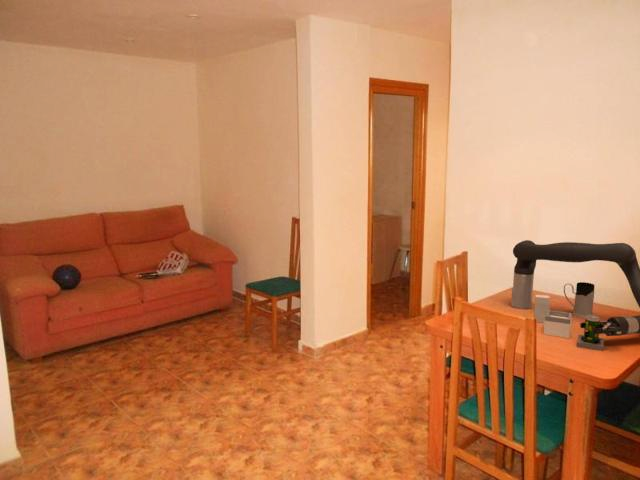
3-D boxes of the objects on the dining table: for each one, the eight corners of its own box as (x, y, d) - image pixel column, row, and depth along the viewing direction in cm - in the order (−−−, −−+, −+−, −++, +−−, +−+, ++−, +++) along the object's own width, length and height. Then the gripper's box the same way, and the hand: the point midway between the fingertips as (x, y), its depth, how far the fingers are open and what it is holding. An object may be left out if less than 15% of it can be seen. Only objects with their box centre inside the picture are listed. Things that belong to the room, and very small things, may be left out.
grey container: (588, 319, 242) (591, 288, 239) (558, 311, 253) (560, 281, 250) (596, 315, 248) (599, 284, 245) (566, 308, 258) (568, 278, 256)
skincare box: (547, 320, 241) (549, 295, 239) (548, 323, 237) (550, 298, 235) (533, 319, 243) (535, 294, 240) (533, 322, 239) (535, 296, 237)
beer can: (584, 341, 215) (587, 313, 213) (599, 344, 212) (602, 316, 210) (581, 345, 211) (584, 317, 209) (595, 348, 208) (598, 319, 206)
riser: (543, 334, 224) (545, 316, 222) (546, 326, 232) (547, 309, 231) (569, 338, 219) (570, 320, 217) (570, 330, 228) (572, 313, 226)
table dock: (576, 346, 210) (577, 342, 210) (578, 339, 218) (578, 334, 218) (603, 351, 205) (603, 346, 205) (603, 343, 214) (604, 338, 213)
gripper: (610, 311, 219) (575, 313, 216) (637, 322, 206) (600, 325, 202) (609, 328, 221) (574, 331, 218) (635, 340, 207) (598, 343, 204)
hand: (586, 328), depth 210 cm, fingers open, 6 cm apart
